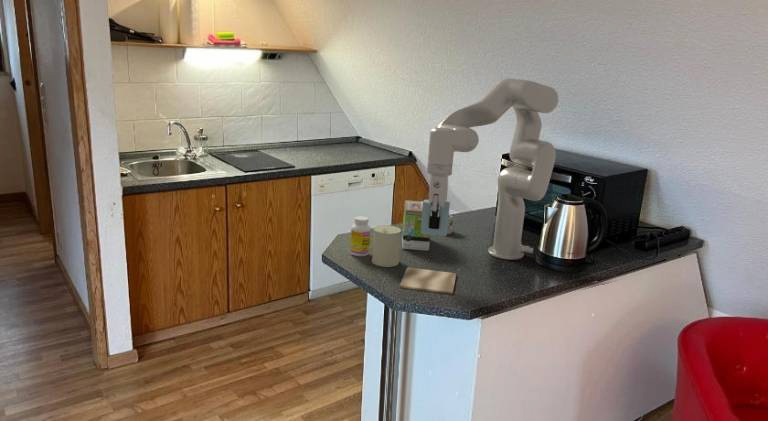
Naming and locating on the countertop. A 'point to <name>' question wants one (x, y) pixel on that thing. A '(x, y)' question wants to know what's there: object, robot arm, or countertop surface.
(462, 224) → the countertop surface
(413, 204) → the tea box
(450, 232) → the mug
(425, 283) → the mat
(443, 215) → the slab
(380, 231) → the can
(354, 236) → the supplement bottle
